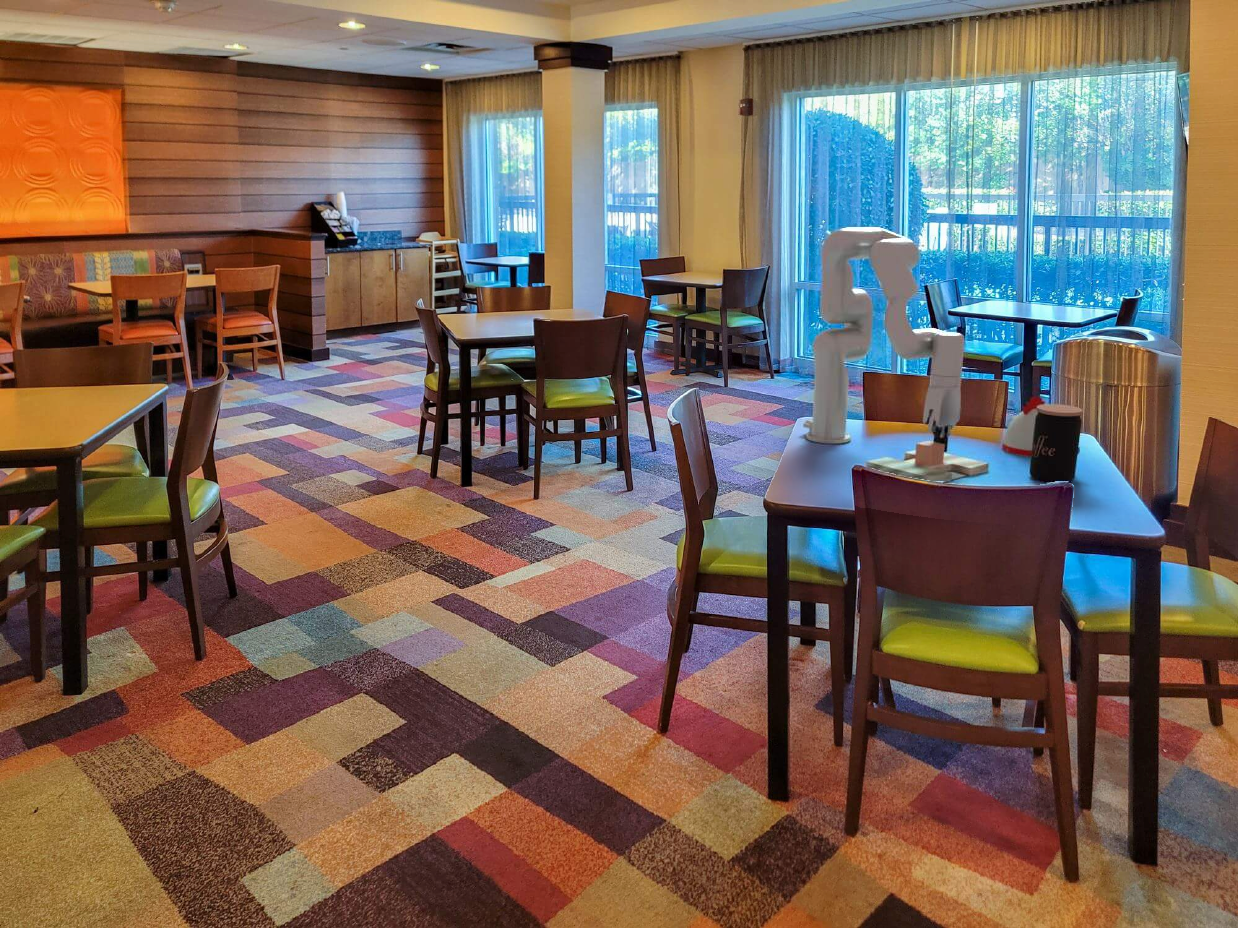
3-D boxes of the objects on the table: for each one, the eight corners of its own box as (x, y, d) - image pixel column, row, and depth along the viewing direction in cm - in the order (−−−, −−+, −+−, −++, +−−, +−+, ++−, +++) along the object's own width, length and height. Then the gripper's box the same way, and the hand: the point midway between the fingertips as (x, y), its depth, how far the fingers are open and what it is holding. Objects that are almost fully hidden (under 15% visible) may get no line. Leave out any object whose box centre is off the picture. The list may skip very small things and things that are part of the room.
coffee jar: (1021, 473, 268) (1028, 404, 264) (1061, 472, 269) (1069, 403, 264) (1040, 484, 258) (1049, 412, 253) (1082, 484, 259) (1091, 412, 254)
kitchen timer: (1066, 452, 290) (1072, 399, 286) (1033, 458, 283) (1039, 404, 279) (1024, 442, 302) (1029, 391, 298) (991, 448, 295) (996, 395, 291)
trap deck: (865, 468, 271) (866, 461, 271) (922, 455, 286) (923, 448, 285) (931, 486, 256) (932, 478, 255) (988, 470, 270) (988, 463, 270)
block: (914, 462, 270) (916, 443, 269) (926, 459, 273) (928, 440, 272) (931, 466, 266) (932, 447, 265) (943, 463, 269) (944, 444, 268)
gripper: (949, 376, 275) (944, 444, 279) (915, 382, 266) (910, 453, 270) (975, 380, 269) (969, 450, 274) (940, 386, 260) (935, 458, 265)
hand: (939, 451), depth 272 cm, fingers closed
